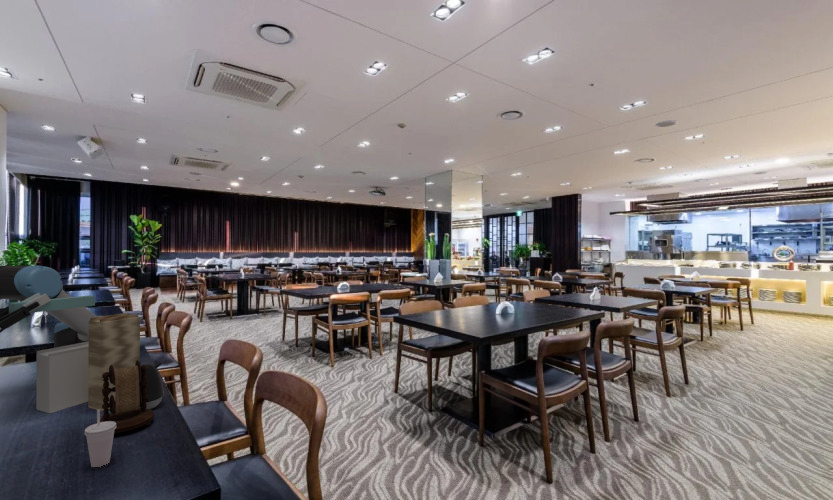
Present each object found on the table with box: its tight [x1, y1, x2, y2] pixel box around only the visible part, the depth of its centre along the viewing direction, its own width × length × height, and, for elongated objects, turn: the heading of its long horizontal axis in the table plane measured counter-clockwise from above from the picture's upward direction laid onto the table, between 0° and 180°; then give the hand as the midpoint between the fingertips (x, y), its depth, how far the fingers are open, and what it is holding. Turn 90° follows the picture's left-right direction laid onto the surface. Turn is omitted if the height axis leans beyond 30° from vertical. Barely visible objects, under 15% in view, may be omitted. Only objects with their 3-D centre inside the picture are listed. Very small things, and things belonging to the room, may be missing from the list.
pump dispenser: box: [139, 361, 165, 410], centre depth 134 cm, size 10×10×15 cm
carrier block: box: [35, 342, 89, 414], centre depth 137 cm, size 16×8×20 cm, turn 157°
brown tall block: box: [87, 312, 141, 412], centre depth 138 cm, size 12×8×31 cm, turn 157°
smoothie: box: [84, 409, 116, 468], centre depth 99 cm, size 6×6×14 cm
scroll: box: [94, 360, 155, 434], centre depth 120 cm, size 15×15×20 cm
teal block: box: [8, 295, 96, 314], centre depth 133 cm, size 22×4×4 cm, turn 157°
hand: (44, 296), depth 130 cm, fingers closed on teal block, 3 cm apart
